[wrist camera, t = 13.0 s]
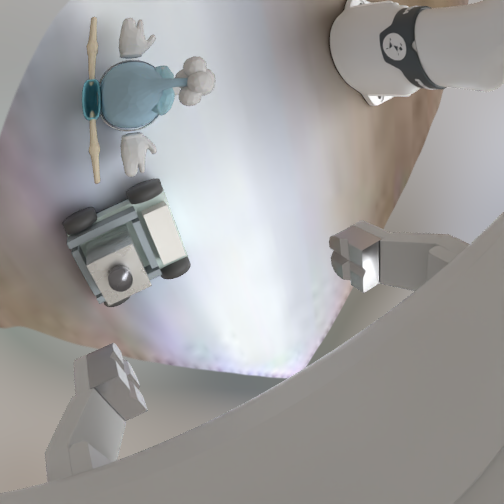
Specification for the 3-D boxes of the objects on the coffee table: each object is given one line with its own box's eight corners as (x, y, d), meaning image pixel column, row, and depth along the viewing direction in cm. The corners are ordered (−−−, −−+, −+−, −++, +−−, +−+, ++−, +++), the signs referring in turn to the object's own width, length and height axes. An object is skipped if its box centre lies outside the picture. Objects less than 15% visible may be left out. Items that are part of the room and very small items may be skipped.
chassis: (156, 176, 36) (163, 183, 32) (185, 256, 41) (195, 271, 38) (63, 218, 32) (60, 230, 29) (103, 294, 38) (105, 313, 34)
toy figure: (177, 163, 36) (225, 189, 24) (89, 176, 32) (85, 211, 20) (176, 28, 29) (226, -19, 17) (85, 33, 25) (82, -19, 13)
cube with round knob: (125, 224, 34) (133, 247, 28) (142, 261, 36) (153, 290, 31) (86, 243, 32) (86, 270, 27) (105, 279, 35) (109, 311, 29)
